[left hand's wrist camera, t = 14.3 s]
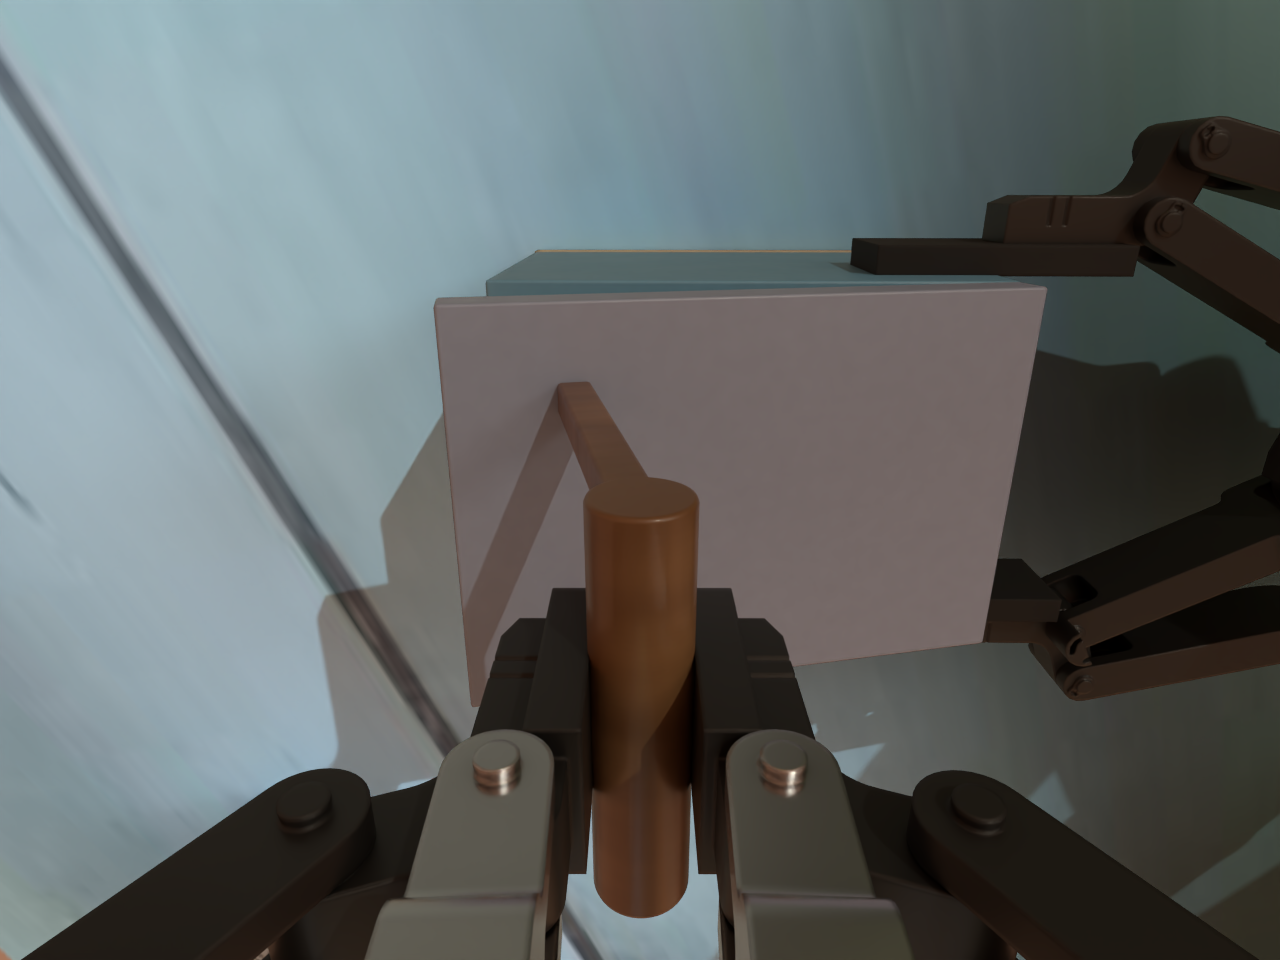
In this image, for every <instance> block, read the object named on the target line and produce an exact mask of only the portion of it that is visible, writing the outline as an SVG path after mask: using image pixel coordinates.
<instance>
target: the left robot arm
mask: <svg viewBox="0 0 1280 960" xmlns="http://www.w3.org/2000/svg"><path fill="white" fill-rule="evenodd" d="M691 789H692V801H693V813H694V825H695V837H696V850H697V862H698V874H717V881H718V891H719V911H718V943H719V960H1018V959H1017V958H1016V955H1017V952H1018V953H1019V954H1020V955H1021V956H1022V957H1024V958H1025V959H1026V960H1259V959H1257V958H1256V957H1254V956H1253V955H1251V954H1250V953H1248V952H1247V951H1246V950H1244V949H1243V948H1241V947H1240V946H1238V945H1237V944H1235V943H1234V942H1233V941H1231V940H1230V939H1228V938H1227V937H1225V936H1224V935H1223V934H1221V933H1220V932H1218V931H1217V930H1215V929H1214V928H1212V927H1211V926H1210V925H1208V924H1207V923H1205V922H1204V921H1202V920H1201V919H1199V918H1198V917H1197V916H1195V915H1194V914H1192V913H1191V912H1189V911H1188V910H1186V909H1185V908H1184V907H1182V906H1181V905H1179V904H1178V903H1176V902H1175V901H1173V900H1172V899H1171V898H1169V897H1168V896H1166V895H1165V894H1163V893H1162V892H1160V891H1159V890H1158V889H1156V888H1155V887H1153V886H1152V885H1150V884H1149V883H1147V882H1146V881H1145V880H1143V879H1142V878H1140V877H1139V876H1137V875H1136V874H1134V873H1133V872H1132V871H1130V870H1129V869H1127V868H1126V867H1124V866H1123V865H1121V864H1120V863H1119V862H1117V861H1116V860H1114V859H1113V858H1111V857H1110V856H1108V855H1107V854H1106V853H1104V852H1103V851H1101V850H1100V849H1098V848H1097V847H1096V846H1094V845H1093V844H1091V843H1090V842H1088V841H1087V840H1085V839H1084V838H1083V837H1081V836H1080V835H1078V834H1077V833H1075V832H1074V831H1072V830H1071V829H1070V828H1068V827H1067V826H1065V825H1064V824H1062V823H1061V822H1059V821H1058V820H1057V819H1055V818H1054V817H1052V816H1051V815H1049V814H1048V813H1046V812H1045V811H1044V810H1042V809H1041V808H1039V807H1038V806H1036V805H1035V804H1033V803H1032V802H1031V801H1029V800H1028V799H1026V798H1025V797H1023V796H1022V795H1020V794H1019V793H1018V792H1016V791H1015V790H1013V789H1011V788H1010V787H1008V786H1007V785H1005V784H1003V783H1001V782H999V781H997V780H995V779H992V778H990V777H987V776H984V775H981V774H977V773H973V772H967V771H957V770H950V771H941V772H937V773H933V774H931V775H928V776H926V777H925V778H924V779H922V780H921V781H920V782H919V783H918V784H917V785H916V787H915V789H914V792H913V796H907V795H903V794H899V793H895V792H891V791H887V790H883V789H879V788H875V787H872V786H868V785H865V784H863V783H860V782H858V781H856V780H854V779H852V778H850V777H848V776H846V775H845V774H843V773H842V772H841V770H840V767H839V765H838V762H837V760H836V759H835V757H834V756H833V754H832V753H831V752H830V751H829V750H828V749H827V748H826V747H824V746H823V745H822V744H820V743H819V742H817V741H816V740H815V737H814V734H813V731H812V727H811V724H810V721H809V718H808V715H807V711H806V708H805V705H804V702H803V699H802V695H801V692H800V689H799V686H798V683H797V679H796V678H795V673H794V670H793V666H792V663H791V661H790V660H789V654H788V650H787V647H786V644H785V641H784V638H783V635H781V634H780V633H779V632H778V631H777V630H776V629H775V628H774V627H773V626H772V625H771V624H770V623H769V622H768V621H767V620H766V619H765V618H738V615H737V611H736V606H735V602H734V597H733V593H732V589H731V588H697V608H696V641H695V665H694V698H693V732H692V766H691ZM592 792H593V777H592V741H591V705H590V668H589V655H588V651H587V624H586V589H585V588H553V589H552V592H551V597H550V602H549V606H548V611H547V616H546V618H519V619H518V620H517V621H516V622H515V623H514V624H513V625H512V626H511V627H510V628H509V629H508V630H507V631H506V632H505V633H504V634H503V635H501V638H500V641H499V644H498V648H497V651H496V654H495V661H493V664H492V668H491V671H490V678H488V681H487V684H486V687H485V691H484V694H483V697H482V701H481V704H480V707H479V711H478V714H477V717H476V720H475V724H474V727H473V730H472V734H471V737H470V738H468V739H466V740H464V741H463V742H461V743H459V744H458V745H457V746H456V747H454V748H453V749H452V750H451V751H450V752H449V753H448V754H447V756H446V757H445V759H444V760H443V762H442V765H441V767H440V770H439V773H438V776H437V777H435V778H433V779H431V780H429V781H427V782H425V783H422V784H420V785H417V786H413V787H410V788H406V789H402V790H398V791H394V792H390V793H386V794H382V795H377V796H373V797H370V790H369V788H368V786H367V784H366V783H365V781H364V780H363V779H362V778H360V777H359V776H358V775H356V774H354V773H352V772H349V771H346V770H341V769H332V768H328V769H316V770H310V771H306V772H302V773H299V774H296V775H293V776H291V777H288V778H286V779H284V780H282V781H280V782H278V783H276V784H275V785H273V786H271V787H270V788H268V789H267V790H265V791H264V792H262V793H261V794H260V795H258V796H257V797H255V798H254V799H252V800H251V801H249V802H248V803H247V804H245V805H244V806H242V807H241V808H239V809H238V810H236V811H235V812H234V813H232V814H231V815H229V816H228V817H226V818H225V819H223V820H222V821H221V822H219V823H218V824H216V825H215V826H213V827H212V828H210V829H209V830H208V831H206V832H205V833H203V834H202V835H200V836H199V837H198V838H196V839H195V840H193V841H192V842H190V843H189V844H187V845H186V846H185V847H183V848H182V849H180V850H179V851H177V852H176V853H174V854H173V855H172V856H170V857H169V858H167V859H166V860H164V861H163V862H161V863H160V864H159V865H157V866H156V867H154V868H153V869H151V870H150V871H148V872H147V873H146V874H144V875H143V876H141V877H140V878H138V879H137V880H135V881H134V882H133V883H131V884H130V885H128V886H127V887H125V888H124V889H122V890H121V891H120V892H118V893H117V894H115V895H114V896H112V897H111V898H109V899H108V900H107V901H105V902H104V903H102V904H101V905H99V906H98V907H96V908H95V909H94V910H92V911H91V912H89V913H88V914H86V915H85V916H83V917H82V918H81V919H79V920H78V921H76V922H75V923H73V924H72V925H71V926H69V927H68V928H66V929H65V930H63V931H62V932H60V933H59V934H58V935H56V936H55V937H53V938H52V939H50V940H49V941H47V942H46V943H45V944H43V945H42V946H40V947H39V948H37V949H36V950H34V951H33V952H32V953H30V954H29V955H27V956H26V957H24V958H23V959H21V960H254V959H255V958H256V957H258V956H259V955H260V954H261V953H262V952H263V951H264V950H266V949H267V948H268V950H269V953H268V954H267V955H266V956H265V957H264V958H263V959H262V960H561V943H562V911H563V909H564V905H565V900H566V892H567V882H568V874H586V871H587V858H588V845H589V831H590V818H591V805H592Z"/></svg>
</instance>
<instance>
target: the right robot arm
mask: <svg viewBox="0 0 1280 960" xmlns="http://www.w3.org/2000/svg"><path fill="white" fill-rule="evenodd" d="M1132 156H1133V161H1134V162H1133V164H1132V166H1131V168H1130V170H1129V171H1128V173H1127V175H1126V176H1125V178H1124V179H1123V181H1122V182H1121V183H1120V184H1119V185H1118V186H1117V187H1116V188H1114V189H1112V190H1111V191H1109V192H1107V193H1104V194H1101V195H1007V196H1004V197H1001V198H999V199H996V200H994V201H991V202H989V203H987V209H986V216H985V222H984V229H983V236H982V238H853V240H852V250H851V261H850V265H852V266H854V267H857V268H859V269H862V270H864V271H867V272H869V273H871V274H874V275H998V276H1116V277H1133V276H1134V271H1135V267H1136V262H1137V261H1138V262H1140V263H1142V264H1143V265H1145V266H1146V267H1148V268H1150V269H1151V270H1153V271H1154V272H1156V273H1158V274H1159V275H1161V276H1163V277H1164V278H1166V279H1167V280H1169V281H1171V282H1172V283H1174V284H1176V285H1177V286H1179V287H1180V288H1182V289H1184V290H1185V291H1187V292H1188V293H1190V294H1192V295H1193V296H1195V297H1197V298H1198V299H1200V300H1201V301H1203V302H1205V303H1206V304H1208V305H1209V306H1211V307H1213V308H1214V309H1216V310H1218V311H1219V312H1221V313H1222V314H1224V315H1226V316H1227V317H1229V318H1230V319H1232V320H1234V321H1235V322H1237V323H1239V324H1240V325H1242V326H1243V327H1245V328H1247V329H1248V330H1250V331H1251V332H1253V333H1255V334H1256V335H1258V336H1260V337H1261V338H1263V339H1264V340H1266V343H1265V344H1266V345H1267V346H1269V347H1270V348H1272V349H1273V350H1275V351H1277V352H1278V353H1280V260H1279V259H1278V258H1276V257H1274V256H1273V255H1271V254H1270V253H1268V252H1267V251H1265V250H1264V249H1262V248H1260V247H1259V246H1257V245H1256V244H1254V243H1253V242H1251V241H1250V240H1248V239H1246V238H1245V237H1243V236H1242V235H1240V234H1239V233H1237V232H1236V231H1234V230H1232V229H1231V228H1229V227H1228V226H1226V225H1225V224H1223V223H1222V222H1220V221H1218V220H1217V219H1215V218H1214V217H1212V216H1211V215H1209V214H1207V213H1206V212H1204V211H1203V210H1201V209H1200V208H1198V207H1197V206H1195V205H1193V203H1194V201H1195V200H1196V198H1197V196H1198V194H1199V193H1200V191H1201V189H1202V188H1204V189H1208V190H1211V191H1215V192H1218V193H1222V194H1225V195H1229V196H1232V197H1236V198H1239V199H1243V200H1246V201H1250V202H1253V203H1257V204H1260V205H1264V206H1267V207H1271V208H1274V209H1278V210H1280V132H1278V131H1275V130H1272V129H1268V128H1265V127H1261V126H1258V125H1255V124H1251V123H1248V122H1244V121H1241V120H1238V119H1234V118H1231V117H1224V116H1216V117H1208V118H1200V119H1192V120H1183V121H1175V122H1167V123H1159V124H1155V125H1152V126H1149V127H1147V128H1146V129H1145V130H1144V131H1142V132H1141V133H1140V134H1139V136H1138V137H1137V139H1136V140H1135V142H1134V145H1133V149H1132ZM1278 571H1280V434H1279V435H1278V437H1277V439H1276V440H1275V442H1274V444H1273V445H1272V447H1271V449H1270V450H1269V452H1268V456H1267V459H1266V462H1265V465H1264V469H1263V472H1262V475H1260V476H1258V477H1256V478H1253V479H1251V480H1249V481H1246V482H1244V483H1241V484H1239V485H1237V486H1234V487H1232V488H1230V489H1228V490H1226V491H1224V492H1223V493H1222V495H1221V501H1220V502H1219V503H1218V504H1216V505H1214V506H1212V507H1209V508H1207V509H1204V510H1202V511H1200V512H1197V513H1195V514H1192V515H1190V516H1188V517H1185V518H1183V519H1181V520H1178V521H1176V522H1173V523H1171V524H1169V525H1166V526H1164V527H1161V528H1159V529H1157V530H1154V531H1152V532H1149V533H1147V534H1145V535H1142V536H1140V537H1138V538H1135V539H1133V540H1130V541H1128V542H1126V543H1123V544H1121V545H1118V546H1116V547H1114V548H1111V549H1109V550H1107V551H1104V552H1102V553H1099V554H1097V555H1095V556H1092V557H1090V558H1087V559H1085V560H1083V561H1080V562H1078V563H1075V564H1073V565H1071V566H1068V567H1066V568H1064V569H1061V570H1059V571H1056V572H1054V573H1052V574H1049V575H1047V576H1044V577H1042V578H1040V577H1039V576H1038V575H1037V574H1036V573H1035V572H1034V571H1033V570H1032V569H1031V568H1030V567H1029V566H1028V565H1027V564H1026V563H1025V562H1024V561H1023V560H1022V559H997V565H996V570H995V576H994V581H993V586H992V592H991V597H990V603H989V608H988V614H987V619H986V624H985V630H984V635H983V641H982V642H999V643H1029V649H1030V651H1031V653H1032V654H1033V655H1034V656H1035V658H1036V659H1037V660H1038V661H1039V663H1040V664H1041V665H1042V666H1043V668H1044V669H1045V670H1046V671H1047V673H1048V674H1049V675H1050V676H1051V678H1052V679H1053V680H1054V681H1055V682H1056V684H1057V685H1058V686H1059V687H1060V689H1061V690H1062V691H1063V692H1064V694H1065V695H1066V696H1067V697H1068V698H1070V699H1072V700H1076V701H1084V700H1089V699H1094V698H1100V697H1105V696H1110V695H1116V694H1121V693H1126V692H1132V691H1137V690H1142V689H1148V688H1153V687H1158V686H1164V685H1169V684H1174V683H1179V682H1185V681H1190V680H1195V679H1201V678H1206V677H1211V676H1217V675H1222V674H1227V673H1233V672H1238V671H1243V670H1249V669H1254V668H1259V667H1265V666H1270V665H1275V664H1280V586H1276V585H1269V586H1255V587H1248V588H1242V589H1237V590H1233V589H1235V588H1238V587H1240V586H1243V585H1245V584H1248V583H1250V582H1253V581H1255V580H1258V579H1260V578H1263V577H1265V576H1268V575H1270V574H1273V573H1275V572H1278ZM1230 590H1232V591H1230Z"/></svg>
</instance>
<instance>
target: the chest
mask: <svg viewBox="0 0 1280 960" xmlns="http://www.w3.org/2000/svg"><path fill="white" fill-rule="evenodd" d="M850 261H851V250H537V251H535V253H534V254H532V255H531V256H529V257H527V258H525V259H524V260H522V261H520V262H518V263H517V264H515V265H513V266H511V267H510V268H508V269H506V270H504V271H503V272H501V273H499V274H497V275H496V276H494V277H492V278H490V279H489V280H487V281H486V295H487V296H523V295H559V294H596V293H633V292H669V291H706V290H743V289H779V288H816V287H852V286H889V285H926V284H962V283H999V282H1019V281H1017V280H1013V279H1009V278H1005V277H1002V276H998V275H874V274H871V273H869V272H867V271H864V270H862V269H859V268H857V267H854V266H852V265H850Z"/></svg>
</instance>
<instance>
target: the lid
mask: <svg viewBox="0 0 1280 960" xmlns="http://www.w3.org/2000/svg"><path fill="white" fill-rule="evenodd" d="M1046 294H1047V288H1046V287H1044V286H1038V285H1033V284H1027V283H1021V282H999V283H962V284H926V285H889V286H852V287H816V288H779V289H743V290H706V291H669V292H633V293H596V294H559V295H523V296H486V297H449V298H437V299H436V301H435V305H434V317H435V327H436V338H437V349H438V359H439V370H440V380H441V391H442V402H443V412H444V423H445V433H446V444H447V455H448V465H449V476H450V486H451V497H452V508H453V518H454V529H455V540H456V550H457V561H458V571H459V582H460V593H461V603H462V614H463V624H464V635H465V646H466V656H467V667H468V677H469V688H470V699H471V705H472V707H478V706H480V704H481V701H482V697H483V694H484V691H485V687H486V684H487V681H488V678H490V671H491V668H492V664H493V661H495V654H496V651H497V648H498V644H499V641H500V638H501V635H503V634H504V633H505V632H506V631H507V630H508V629H509V628H510V627H511V626H512V625H513V624H514V623H515V622H516V621H517V620H518V619H519V618H546V616H547V611H548V606H549V602H550V597H551V592H552V589H553V588H585V589H586V624H587V651H588V655H589V668H590V705H591V741H592V777H593V792H592V834H593V869H594V884H595V888H596V890H597V893H598V894H599V896H600V898H601V899H602V900H603V902H604V903H605V904H606V905H607V906H608V907H609V908H611V909H612V910H614V911H615V912H617V913H619V914H622V915H624V916H628V917H632V918H650V917H654V916H658V915H661V914H663V913H665V912H667V911H669V910H670V909H672V908H673V907H674V906H675V905H676V904H677V903H678V902H679V901H680V899H681V898H682V896H683V895H684V893H685V891H686V888H687V885H688V876H689V842H690V809H691V766H692V732H693V698H694V665H695V641H696V608H697V588H731V589H732V593H733V597H734V602H735V606H736V611H737V615H738V618H765V619H766V620H767V621H768V622H769V623H770V624H771V625H772V626H773V627H774V628H775V629H776V630H777V631H778V632H779V633H780V634H781V635H783V638H784V641H785V644H786V647H787V650H788V654H789V660H790V661H791V663H792V666H793V667H795V666H802V665H810V664H818V663H826V662H834V661H842V660H850V659H858V658H866V657H874V656H882V655H889V654H897V653H905V652H913V651H921V650H929V649H937V648H945V647H953V646H961V645H969V644H976V643H981V642H982V641H983V635H984V630H985V624H986V619H987V614H988V608H989V603H990V597H991V592H992V586H993V581H994V576H995V570H996V565H997V559H998V554H999V549H1000V543H1001V538H1002V532H1003V527H1004V521H1005V516H1006V511H1007V505H1008V500H1009V494H1010V489H1011V483H1012V478H1013V473H1014V467H1015V462H1016V456H1017V451H1018V446H1019V440H1020V435H1021V429H1022V424H1023V418H1024V413H1025V408H1026V402H1027V397H1028V391H1029V386H1030V380H1031V375H1032V370H1033V364H1034V359H1035V353H1036V348H1037V342H1038V337H1039V332H1040V326H1041V321H1042V315H1043V310H1044V305H1045V299H1046Z"/></svg>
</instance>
